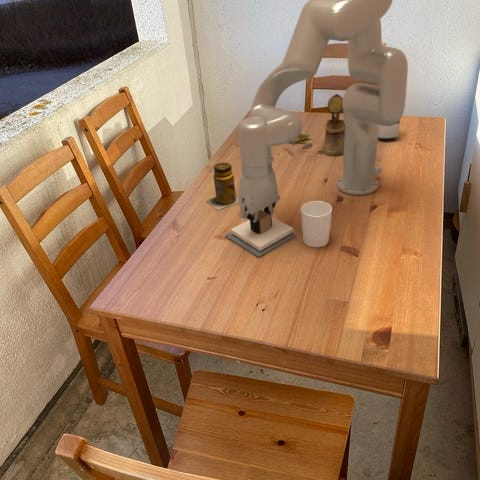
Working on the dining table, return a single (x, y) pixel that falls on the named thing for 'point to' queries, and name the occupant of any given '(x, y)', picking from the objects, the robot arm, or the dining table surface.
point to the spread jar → (388, 132)
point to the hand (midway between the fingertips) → (261, 228)
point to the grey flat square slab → (256, 251)
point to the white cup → (316, 223)
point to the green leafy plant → (300, 137)
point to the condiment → (223, 187)
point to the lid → (262, 231)
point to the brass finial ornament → (334, 129)
